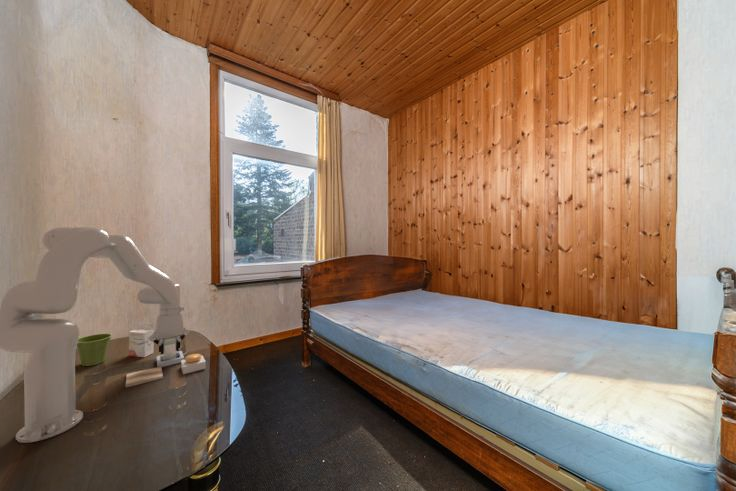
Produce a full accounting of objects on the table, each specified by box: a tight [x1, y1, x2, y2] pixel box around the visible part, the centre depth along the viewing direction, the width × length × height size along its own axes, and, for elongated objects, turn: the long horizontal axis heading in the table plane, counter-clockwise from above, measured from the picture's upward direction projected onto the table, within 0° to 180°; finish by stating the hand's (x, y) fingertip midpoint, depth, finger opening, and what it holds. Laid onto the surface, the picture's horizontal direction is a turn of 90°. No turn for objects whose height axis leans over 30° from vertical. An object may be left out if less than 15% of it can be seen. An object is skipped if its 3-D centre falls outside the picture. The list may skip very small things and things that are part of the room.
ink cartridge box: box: [128, 322, 155, 358], centre depth 127 cm, size 9×5×15 cm, turn 84°
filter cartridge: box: [162, 336, 178, 361], centre depth 120 cm, size 5×5×9 cm
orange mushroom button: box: [184, 353, 202, 363], centre depth 115 cm, size 6×6×4 cm
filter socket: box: [156, 350, 185, 368], centre depth 121 cm, size 9×9×2 cm
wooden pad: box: [124, 366, 164, 388], centre depth 107 cm, size 11×11×1 cm
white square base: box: [180, 354, 207, 375], centre depth 115 cm, size 8×8×3 cm
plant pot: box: [76, 333, 113, 367], centre depth 118 cm, size 12×12×11 cm
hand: (169, 351), depth 120 cm, fingers closed on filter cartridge, 5 cm apart
